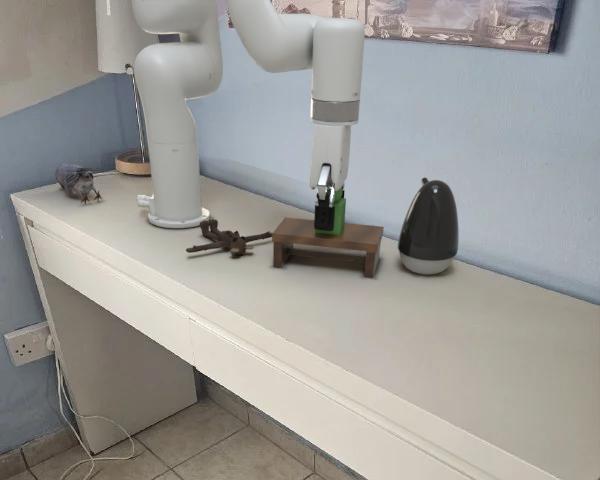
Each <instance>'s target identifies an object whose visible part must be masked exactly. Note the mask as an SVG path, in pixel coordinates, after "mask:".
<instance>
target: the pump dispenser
mask: <svg viewBox="0 0 600 480" xmlns="http://www.w3.org/2000/svg"><path fill="white" fill-rule="evenodd" d="M420 182H421V185H422V186H421V187H420V188H419V189H418V191H417V192H416V194H415V195H414V197H413V198H412V201H411V203H410V205H409V207H408V209H407V211H406V214H405V217H404V219H403V222H402V225H401V229H400V233H399V237H398V240H397V250H398V251H399V257H400V261H401V263H402V264H403V266H404V267H405V268H406V269H408V270H409V271H411V272H412V273H414V274H418V275H423V276H424V275H426V276H428V275H436V274H439V273H441V272H444V271H446V269H448V267H450V266H451V264H452V262H453V261H454V258H455V256H457V254H458V250H459V239H460V238H459V236H460V235H459V233H460V229H459V215H458V209H457V203H456V199H455V196H454V193H453V191H452V189H451V187H450V186H449V184H448V183H446V182H445V181H443V180H440V179H432V180H429V179H428V178H427V177H423V178H421V180H420Z"/></svg>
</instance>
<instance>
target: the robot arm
mask: <svg viewBox="0 0 600 480" xmlns="http://www.w3.org/2000/svg"><path fill="white" fill-rule="evenodd" d="M130 3H131V9H132V13H133V16H134V20H135V21H136V22H135V23H136V24H137V26H138V27H139V28H140V29H141V30H142V31H144V32H146V33H148V34H155V35H175V34H179V39H180V41H172V42H160V43H154V44H153V43H152V44H149V45H148V46H146V47H144V48H143V49H142V50H140V51H139V53H138V54H137V56H136V57H135V59H134V64H133V76H134V81H135V84H136V88H137V91H138V95H139V97H140V101H141V106H142V110H143V116H144V123H145V131H146V132H145V133H146V140H147V148H148V158H149V166H150V176H151V185H152V195H151V196H149V195H147V194H138V195H137V196H136V202H137V206H138V208H148V210H149V212H148V214H147V220H148V222H149V223H150V224H151V225H154V226H156V227H159V228H166V229H187V228H195V227H198V226H199V227H200V222H202V221H208V222H209V221H210V220H211V212H210V211H209V210H208V209H206V208H204V207H203V204H202V186H201V174H200V173H201V172H200V159H199V158H200V157H199V145H198V144H199V143H198V130H197V124H196V121H195V117H194V116H193V113H192V112H191V110H190V108H189V106H188V104H187V101H188V100H193V99H201V98H206V97H210V96H212V95H214V94H215V93H216V92H217V91H218V90H219V88H220V87H221V84H222V81H223V76H224V65H223V63H224V62H223V51H222V43H221V33H220V25H219V24H220V23H219V15H218V6H217V1H216V0H130ZM226 4H227V10H228V14H229V18H230V20H231V24H232V25H233V28H234V30H235V32H236V33H237V36H238V37H239V40H240V41H241V44H242V45H243V47H244V49H245V51H246V52H247V55H248V56H249V57H250V59H251V60H252V61H253V62H254V64H255V65H256V66H258V67H259V68H260V69H261V70H263V71H264V72H267V73H271V74H279V73H286V72H294V71H295V72H297V71H298V72H299V71H305V70H306V71H307V70H311V99H310V122H311V123H313V124H315V125H314V130H313V137H312V146H311V147H312V148H311V159H310V160H311V161H310V173H309V174H310V175H309V188H310V189H311V190H313V191H314V190H315V189H316V188H317V190H316V195H315V196H316V197H315V201H314V202H315V203H314V204H315V205H314V218H313V220H314V229H316V230H324V231H333V229H334V215H335V206H333V203H334V197H335V192H336V191H338V190H339V189H340V188H341V187H342V196H341V198H345V182H346V180H347V178H348V173H349V166H350V165H349V164H350V152H351V134H352V126H354V125H358V124H359V117H360V115H359V114H360V104H361V102H360V101H361V100H360V99H361V89H362V79H363V77H362V76H363V61H364V50H365V49H364V48H365V33H366V31H365V26H364V24H363V22H361V20H358V19H356V18H346V17H343V18H342V17H324V16H320V15H317V14H312V13H278V12H277V10H276V9H275V7H274V6H273V3H272V2H271V0H226ZM327 185H331V186H327ZM332 186H333V187H332ZM327 192H328V193H327ZM329 193H331V194H330V195H329ZM329 196H330V197H329Z"/></svg>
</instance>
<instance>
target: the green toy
mask: <svg viewBox="0 0 600 480" xmlns="http://www.w3.org/2000/svg"><path fill="white" fill-rule="evenodd" d="M327 186H331V185H327ZM332 187H333V186H332ZM327 193H328V192H327ZM330 194H331V193H329V195H330ZM341 196H342V187H341V188H340V189H339V190H338V191H336V192H335V197H334V203H333V206H335V215H334V229H333V231H324V230H316V229H315V233H323V234H333V235H340V234H341V232H342V230H343V228H344V223H346V222H345V221H346V208H347V207H346V205H347V198H345V197H344V198H341ZM329 197H330V196H329Z"/></svg>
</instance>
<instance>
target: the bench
mask: <svg viewBox="0 0 600 480" xmlns="http://www.w3.org/2000/svg"><path fill="white" fill-rule="evenodd" d="M271 233H272V237H271V242H272V243H273V247H272V248H273V251H272V252H273V253H272V254H273V258H272V259H273V261H272V262H273V265H272V266H273V268H281V269H282V268H283V267H284V265H285V263H286V262H287V261H288V258H289V257H290V256H301V257H310V258H320V259H330V260H340V261H348V262H356V263H365V265H364V275H363V277H364V278H371V279H372V278H373V279H374V277H375V272H376V270H377V267H378V264H379V260H380V253H381V243H382V238H383V235H384V226H378V225H369V224H361V223H360V224H359V223H350V222H349V223H348V222H345V223H344V228H343V230H342V232H341V234H340V235H333V234H323V233H315V229H314V219H308V218H307V219H306V218H295V217H287V216H285V217H283V219H282V220H281V221H280V223H279V224H278V225H277V226H276V228H275V229H274V230H273V231H272V232H271ZM294 245H300V246H311V247H319V248H320V247H321V248H329V249H339V250H349V251H360V252H365V254H358V253H349V252H338V251H331V250H330V251H329V250H320V249H311V248H310V249H309V248H301V247H294Z"/></svg>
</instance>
